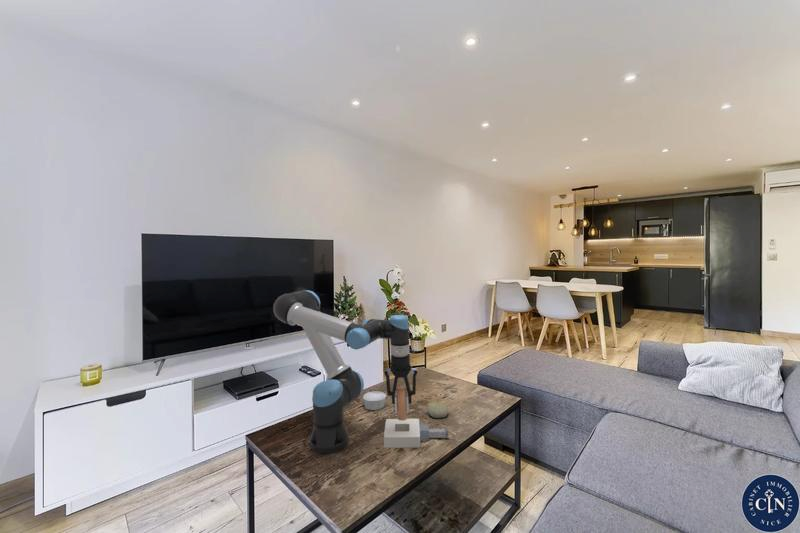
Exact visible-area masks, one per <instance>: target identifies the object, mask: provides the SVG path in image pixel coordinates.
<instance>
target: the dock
mask: <svg viewBox="0 0 800 533" xmlns="http://www.w3.org/2000/svg"><path fill="white" fill-rule="evenodd" d="M419 424H420V418H407V419H406V420H403V421H401V420H398V419H397V418H386V419H385V426H384V433H383V449H394V448H395V449H396V448H397V449H400V448H401V449H402V448H403V449H405V448H406V449H407V448H409V449H410V448H413V449H414V448H416V449H417V448H418V449H419V448H421V441H420V427H419Z"/></svg>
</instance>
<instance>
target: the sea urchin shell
mask: <svg viewBox="0 0 800 533" xmlns="http://www.w3.org/2000/svg"><path fill="white" fill-rule="evenodd" d="M427 413H428V415H429V416H430V417H432V418H434V419H441V418H445V417H447V416H448V413H449V408H448V406H447V405H446V404H445V403H442V402H433V403H431V404H429V406H428V407H427Z"/></svg>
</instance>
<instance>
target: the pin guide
mask: <svg viewBox="0 0 800 533" xmlns="http://www.w3.org/2000/svg"><path fill="white" fill-rule="evenodd" d="M419 427H420V442H430V438H429V429H430V428H429V424H427V423H419Z"/></svg>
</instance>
